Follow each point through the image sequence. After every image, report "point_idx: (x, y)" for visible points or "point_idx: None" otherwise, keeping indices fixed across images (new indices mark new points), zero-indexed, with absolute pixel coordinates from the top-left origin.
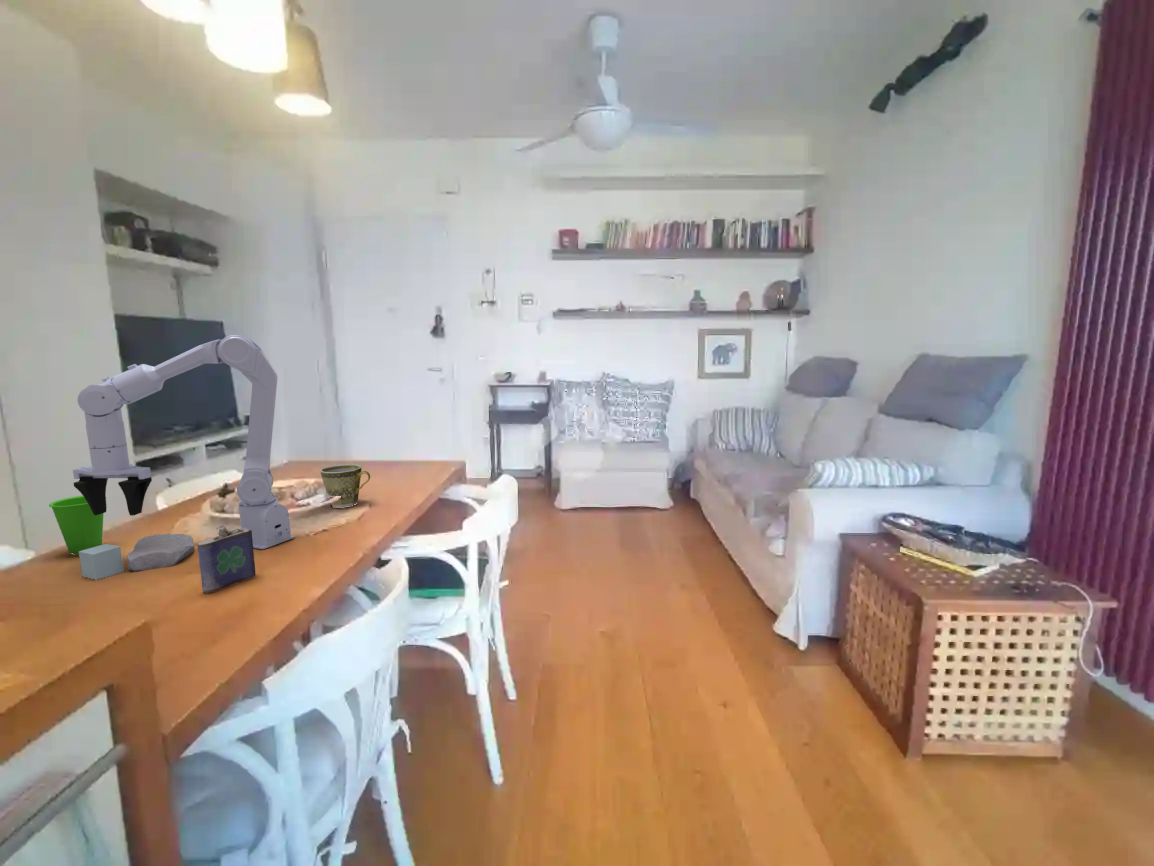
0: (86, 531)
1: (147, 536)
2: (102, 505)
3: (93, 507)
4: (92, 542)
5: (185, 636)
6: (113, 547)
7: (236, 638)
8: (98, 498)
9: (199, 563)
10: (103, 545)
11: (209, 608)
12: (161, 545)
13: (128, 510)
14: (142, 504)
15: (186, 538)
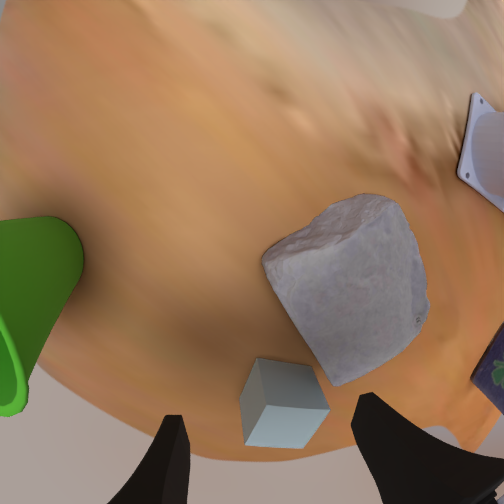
0: (59, 311)
1: (307, 291)
2: (179, 452)
3: (187, 478)
4: (75, 277)
5: (467, 428)
6: (316, 417)
7: (494, 412)
8: (175, 492)
9: (493, 403)
10: (272, 414)
11: (478, 397)
12: (380, 318)
13: (358, 445)
14: (395, 412)
15: (397, 228)
